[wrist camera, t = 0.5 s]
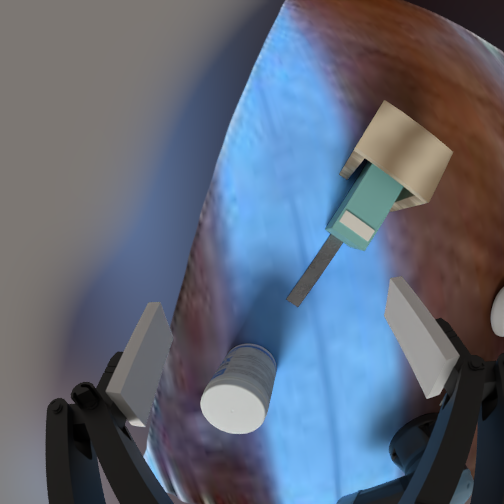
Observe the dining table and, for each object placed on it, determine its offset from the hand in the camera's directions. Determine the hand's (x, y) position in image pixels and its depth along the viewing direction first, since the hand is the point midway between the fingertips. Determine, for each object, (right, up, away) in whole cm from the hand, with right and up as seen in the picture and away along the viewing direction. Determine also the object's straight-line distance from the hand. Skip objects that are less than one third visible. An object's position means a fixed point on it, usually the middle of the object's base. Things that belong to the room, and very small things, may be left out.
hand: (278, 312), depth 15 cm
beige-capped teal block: (+17, +13, +27) cm, 35 cm away
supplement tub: (-2, -17, +33) cm, 37 cm away
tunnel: (+19, +16, +27) cm, 37 cm away
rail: (+14, +8, +29) cm, 33 cm away
